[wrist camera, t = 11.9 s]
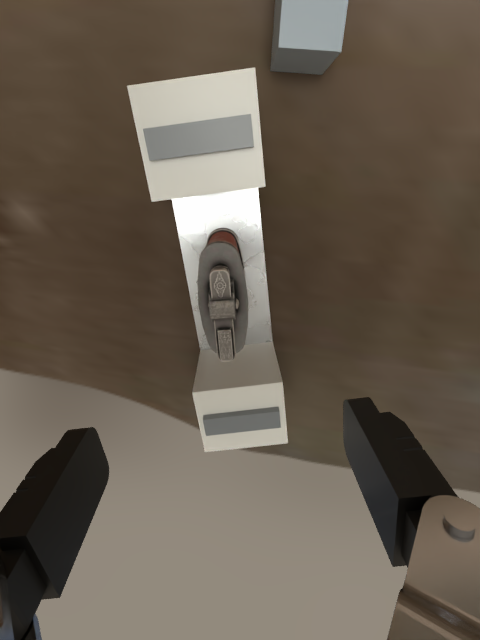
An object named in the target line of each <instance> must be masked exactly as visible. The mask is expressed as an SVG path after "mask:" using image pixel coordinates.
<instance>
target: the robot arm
mask: <svg viewBox="0 0 480 640" xmlns="http://www.w3.org/2000/svg"><path fill="white" fill-rule="evenodd" d="M343 438H344V446H345V451H346V455H347V458H348V460H349V463H350V465H351V468H352V470H353V472H354V475H355V477H356V480H357V482H358V484H359V487H360V489H361V492H362V494H363V496H364V499H365V501H366V504H367V506H368V508H369V511H370V513H371V516H372V518H373V520H374V523H375V525H376V528H377V530H378V532H379V535H380V537H381V540H382V542H383V545H384V547H385V549H386V552H387V554H388V556H389V559H390V561H391V564H392V566H393V567H395V566H404V565H407V567H408V569H407V574H406V578H405V582H404V586H403V588H402V589H401V590H400V592H399V595H398V599H397V602H396V607H395V610H394V614H393V618H392V622H391V626H390V630H389V634H388V638H387V640H480V508H478V507H477V506H476V505H474V504H472V503H471V502H469V501H466V500H464V499H462V498H459V497H458V496H457V495H456V494H455V492H454V491H453V489H452V488H451V487H450V485H449V484H448V482H447V481H446V480H445V478H444V477H443V475H442V474H441V473H440V471H439V470H438V468H437V467H436V466H435V464H434V463H433V461H432V460H431V459H430V457H429V456H428V454H427V453H426V452H425V450H423V449H422V446H421V445H420V443H419V442H418V440H417V439H415V437H414V435H413V433H412V432H411V431H410V429H409V428H408V426H407V425H406V424H405V422H403V421H402V420H401V419H399V418H398V417H396V416H395V415H393V414H392V413H391V412H384V413H379V411H378V409H377V408H376V406H375V405H374V403H373V401H372V400H371V399H370V398H369V397H366V398H357V399H348V400H344V404H343ZM108 477H109V465H108V461H107V458H106V456H105V453H104V450H103V447H102V444H101V442H100V439H99V436H98V433H97V431H96V429H95V428H93V427H90V428H81V429H72V430H68V431H67V432H66V433H65V434H64V436H63V437H62V439H61V440H60V441H59V443H58V444H57V446H56V448H51V449H50V450H49V451H48V452H46V454H44V455H43V456H42V457H41V458H40V459H38V460H37V461H36V462H35V463H34V465H33V466H32V468H31V469H30V471H29V472H28V474H27V475H26V476H25V480H23V481H22V482H21V483H20V485H19V486H18V488H17V489H16V490H17V491H16V493H13V495H12V496H11V498H10V499H9V501H8V502H7V503H6V505H5V506H4V508H3V509H2V511H1V512H0V640H42V638H41V632H40V627H39V621H38V618H37V616H36V614H35V612H36V610H37V608H38V606H39V604H40V601H41V599H51V598H60V596H61V593H62V591H63V589H64V586H65V584H66V581H67V579H68V576H69V574H70V572H71V569H72V567H73V564H74V562H75V560H76V557H77V555H78V552H79V550H80V548H81V545H82V543H83V540H84V538H85V535H86V533H87V531H88V528H89V526H90V523H91V521H92V519H93V516H94V514H95V511H96V509H97V507H98V504H99V502H100V499H101V497H102V494H103V492H104V490H105V487H106V485H107V481H108Z"/></svg>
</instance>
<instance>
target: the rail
mask: <svg viewBox="0 0 480 640" xmlns="http://www.w3.org/2000/svg"><path fill="white" fill-rule="evenodd" d="M172 204H173V209H174V214H175V219H176V225H177V230H178V235H179V240H180V246H181V251H182V256H183V261H184V267H185V272H186V277H187V283H188V288H189V293H190V298H191V304H192V309H193V314H194V319H195V325H196V330H197V335H198V340H199V346H200V350H208V349H211V348H210V346H209V344H208V341H207V338H206V335H205V332H204V329H203V326H202V321H201V316H200V311H199V306H198V286H197V279H198V267H199V258H200V254H201V252H202V250H203V249H204V248H205V246H206V243H207V239H208V236H209V235H210V233H211V232H212V231H214V230H215V229H218V228H228V229H230V230H232V231H233V232H235V233H236V235H237V237H238V240H239V244H240V248H241V252H242V256H243V264H244V271H245V280H246V287H247V294H248V327H247V334H246V341H245V345H250V344H258V343H266V342H273V340H272V330H271V319H270V309H269V298H268V288H267V277H266V267H265V257H264V246H263V236H262V225H261V215H260V204H259V194H258V188H252V189H245V190H237V191H229V192H222V193H214V194H207V195H199V196H192V197H184V198H177V199H172Z"/></svg>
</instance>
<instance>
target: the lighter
mask: <svg viewBox="0 0 480 640" xmlns="http://www.w3.org/2000/svg"><path fill="white" fill-rule="evenodd" d="M197 286H198V306H199V311H200V316H201V321H202V326H203V329H204V332H205V335H206V338H207V341H208V344H209V346H210V348H211V350H212V351H214V352H215V353H217V356H218V359H219V360H220V361H222V362H229V361H233V360H234V359H235V357H236V353H238V352H240V351H241V350H242V349H243V347H244V345H245V341H246V334H247V327H248V294H247V287H246V280H245V271H244V264H243V256H242V252H241V248H240V244H239V240H238V237H237V235H236V233H235V232H233V231H232V230H230V229H228V228H218V229H215V230H214V231H212V232H211V233H210V235H209V236H208V239H207V243H206V246H205V248H204V249H203V250H202V252H201V254H200V258H199V267H198V279H197Z"/></svg>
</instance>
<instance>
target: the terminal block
mask: <svg viewBox="0 0 480 640" xmlns="http://www.w3.org/2000/svg"><path fill="white" fill-rule="evenodd" d="M347 6H348V0H275V12H274V26H273V40H272V54H271V68H270V71H275V72H290V73H305V74H319V75H322V74H323V73H324V72H325V71H326V69H327V68H328V67H329V66H330V65H331V64H332V62H333V61H334V60H335V59H336V58H337V56H338V55H339V54H340V53H341V50H342V43H343V36H344V28H345V21H346V13H347Z"/></svg>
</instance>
